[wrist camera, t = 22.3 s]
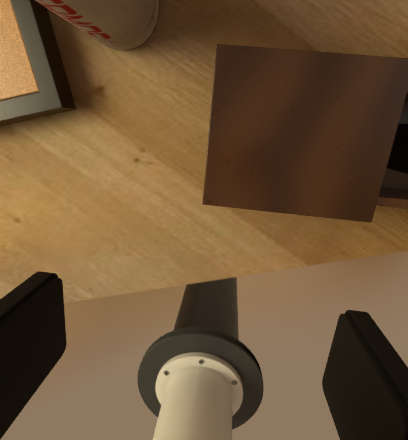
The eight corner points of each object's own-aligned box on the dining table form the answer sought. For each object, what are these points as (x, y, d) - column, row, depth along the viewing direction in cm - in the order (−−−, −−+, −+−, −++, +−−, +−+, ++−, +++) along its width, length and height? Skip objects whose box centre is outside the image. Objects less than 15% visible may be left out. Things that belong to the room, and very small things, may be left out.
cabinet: (364, 77, 31) (416, 59, 22) (336, 198, 34) (371, 222, 26) (220, 66, 31) (216, 43, 23) (209, 185, 35) (202, 204, 27)
